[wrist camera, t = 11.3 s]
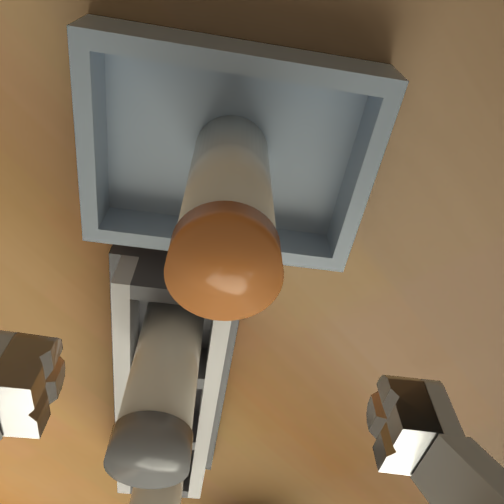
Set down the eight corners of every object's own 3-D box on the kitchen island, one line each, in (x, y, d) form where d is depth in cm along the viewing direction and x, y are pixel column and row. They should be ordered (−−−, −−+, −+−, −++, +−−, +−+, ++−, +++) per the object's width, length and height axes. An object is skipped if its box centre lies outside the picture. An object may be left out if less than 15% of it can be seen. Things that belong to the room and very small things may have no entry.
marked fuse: (276, 119, 22) (294, 235, 14) (262, 189, 24) (272, 325, 16) (196, 107, 21) (166, 220, 13) (190, 180, 23) (161, 315, 15)
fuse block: (248, 259, 27) (248, 298, 24) (211, 458, 40) (208, 499, 37) (113, 243, 26) (96, 281, 24) (119, 451, 39) (108, 492, 36)
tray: (391, 64, 21) (408, 81, 19) (334, 242, 27) (343, 272, 24) (88, 13, 20) (66, 25, 17) (97, 212, 25) (82, 240, 23)
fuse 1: (208, 292, 27) (192, 446, 19) (203, 336, 30) (186, 491, 21) (145, 286, 27) (101, 440, 19) (144, 331, 29) (105, 486, 21)
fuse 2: (191, 427, 35) (174, 576, 27) (187, 454, 38) (170, 599, 30) (142, 423, 35) (109, 573, 27) (141, 450, 37) (111, 596, 29)
